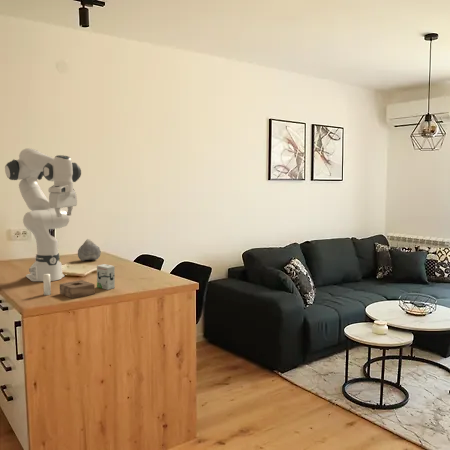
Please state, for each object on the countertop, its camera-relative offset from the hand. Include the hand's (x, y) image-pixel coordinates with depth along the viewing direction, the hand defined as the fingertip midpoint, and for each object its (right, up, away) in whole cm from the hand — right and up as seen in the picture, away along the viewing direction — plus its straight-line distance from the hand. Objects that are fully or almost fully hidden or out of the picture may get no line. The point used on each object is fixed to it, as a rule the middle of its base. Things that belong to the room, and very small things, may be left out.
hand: (64, 216), depth 229 cm
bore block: (+7, -38, -1) cm, 39 cm away
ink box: (+18, -37, +12) cm, 43 cm away
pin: (-7, -38, -3) cm, 39 cm away
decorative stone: (-12, -29, +84) cm, 90 cm away
